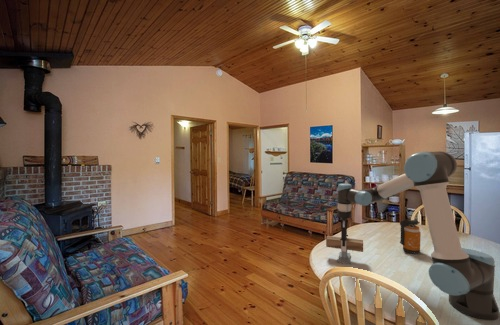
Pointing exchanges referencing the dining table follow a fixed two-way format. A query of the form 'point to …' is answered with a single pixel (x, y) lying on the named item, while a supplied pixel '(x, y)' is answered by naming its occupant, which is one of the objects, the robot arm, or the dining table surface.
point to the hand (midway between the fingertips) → (343, 249)
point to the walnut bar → (350, 243)
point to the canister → (410, 236)
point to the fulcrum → (344, 257)
